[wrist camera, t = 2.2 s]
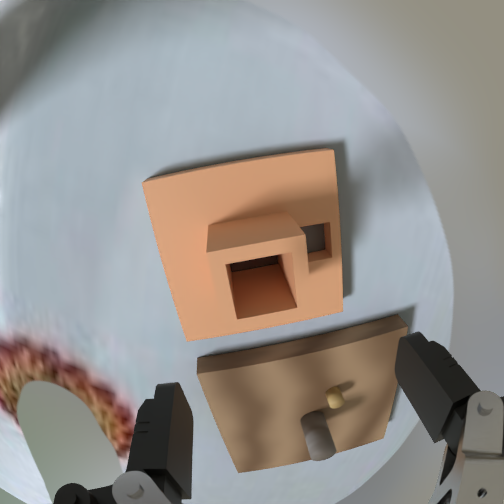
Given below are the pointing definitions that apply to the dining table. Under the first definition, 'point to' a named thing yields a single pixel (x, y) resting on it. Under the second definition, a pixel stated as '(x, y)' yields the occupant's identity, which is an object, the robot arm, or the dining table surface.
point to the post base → (304, 394)
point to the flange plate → (249, 241)
